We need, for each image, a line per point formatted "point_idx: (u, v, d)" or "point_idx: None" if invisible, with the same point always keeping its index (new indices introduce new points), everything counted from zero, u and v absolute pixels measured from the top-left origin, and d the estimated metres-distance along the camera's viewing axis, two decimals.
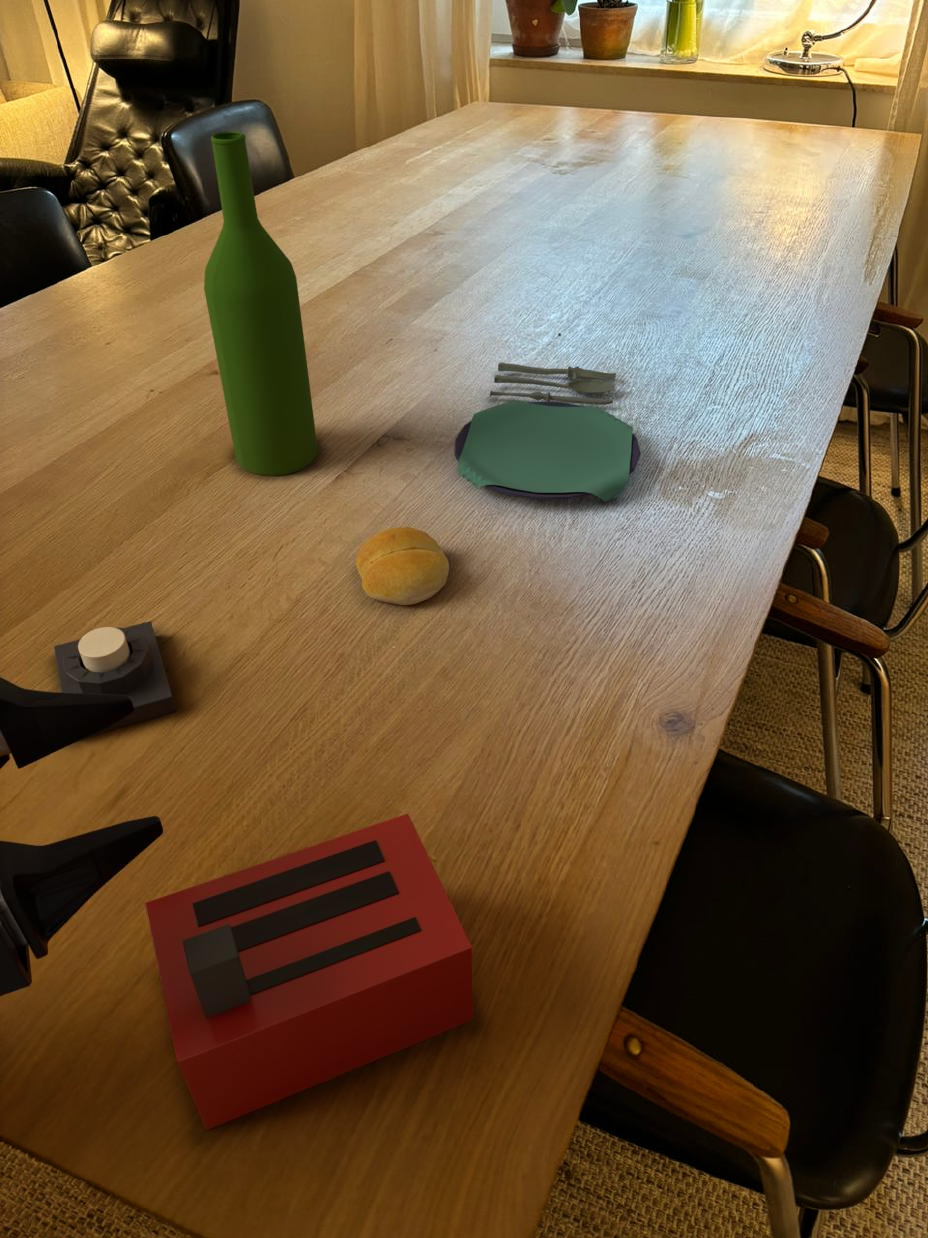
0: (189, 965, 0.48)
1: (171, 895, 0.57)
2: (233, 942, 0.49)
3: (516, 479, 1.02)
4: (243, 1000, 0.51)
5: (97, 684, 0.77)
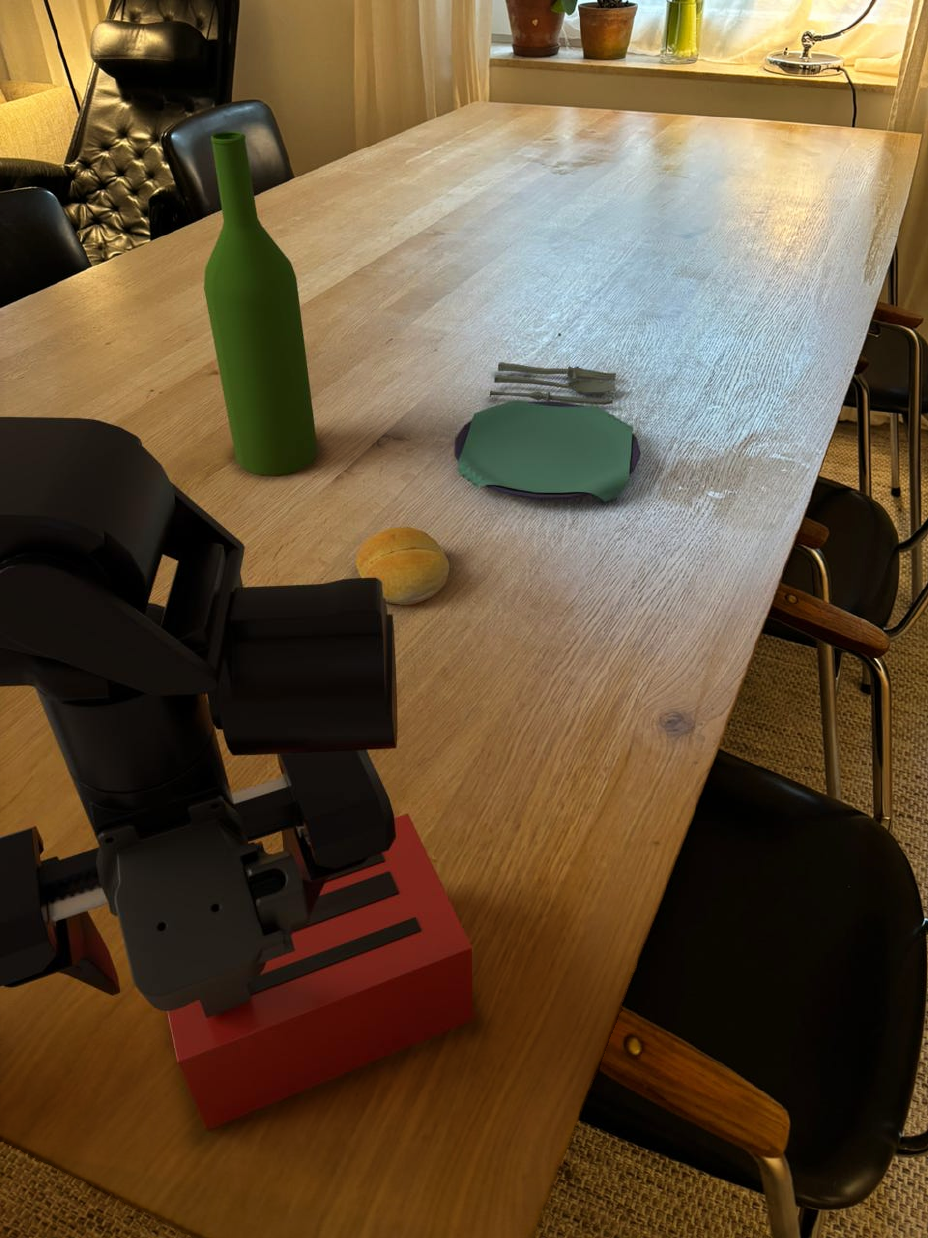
0: None
1: None
2: None
3: (516, 479, 1.02)
4: (243, 1000, 0.51)
5: None
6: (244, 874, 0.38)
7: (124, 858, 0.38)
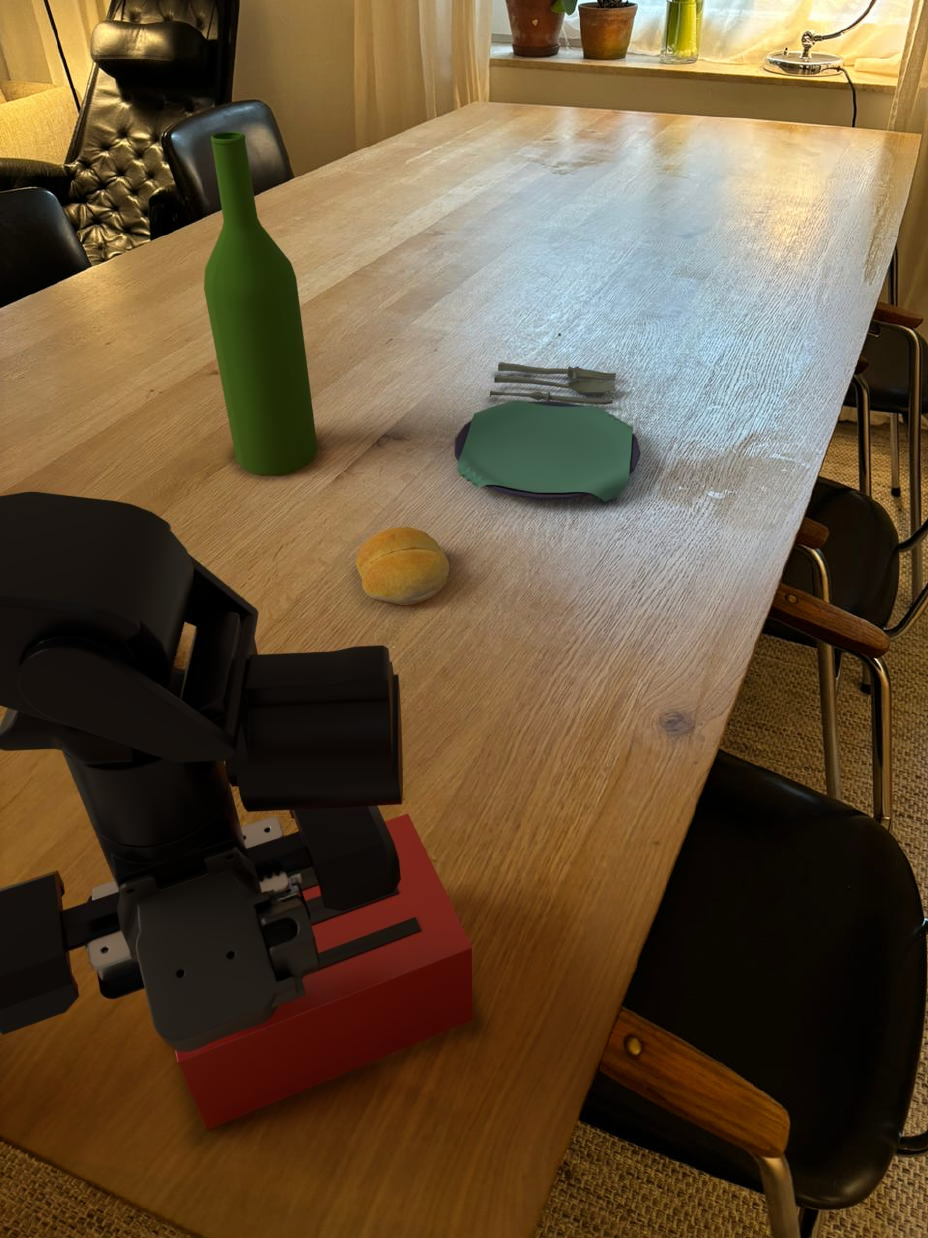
0: None
1: None
2: None
3: (516, 479, 1.02)
4: None
5: None
6: (258, 922, 0.40)
7: (144, 907, 0.40)
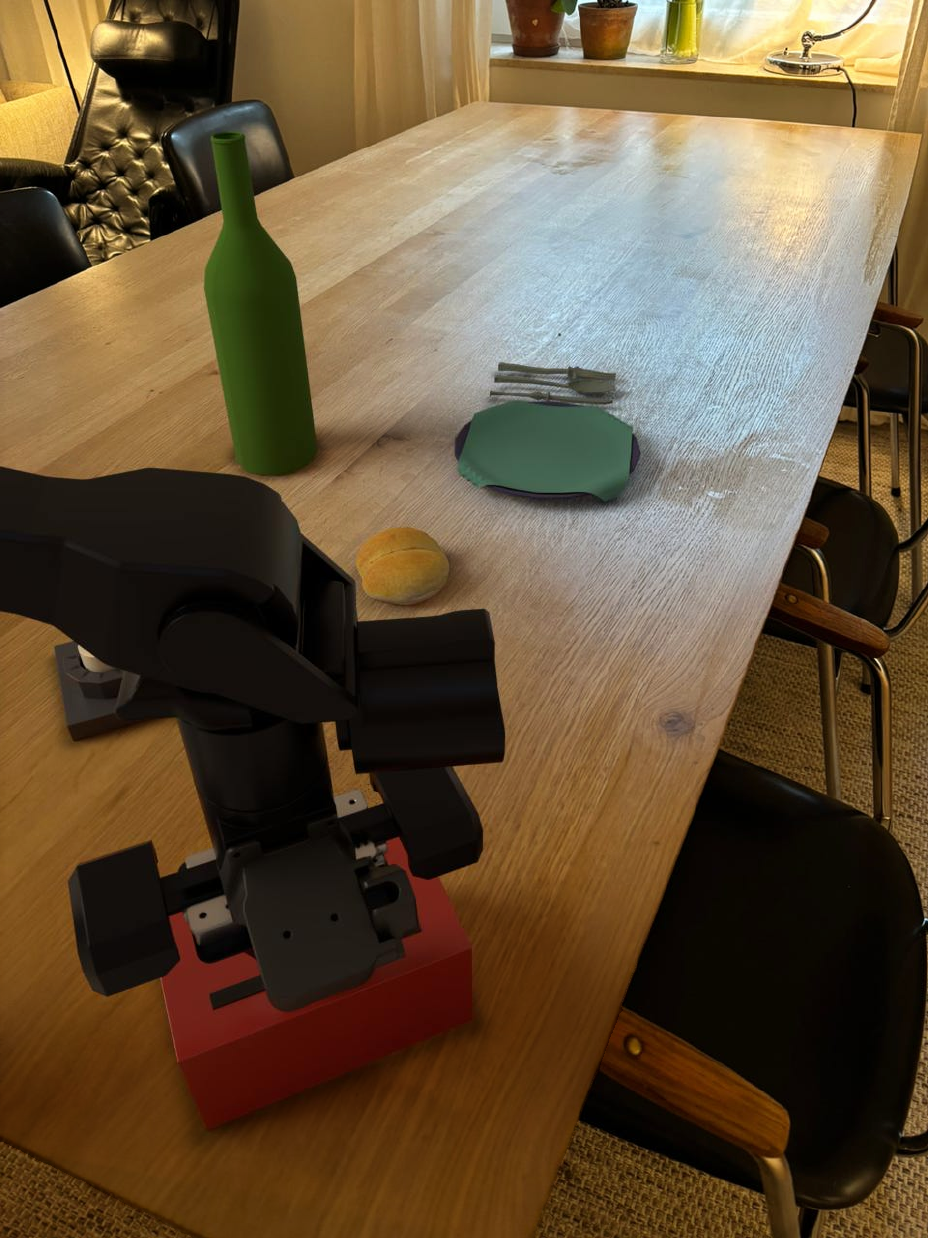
0: None
1: None
2: None
3: (516, 479, 1.02)
4: None
5: (97, 684, 0.77)
6: (359, 886, 0.41)
7: (249, 871, 0.41)
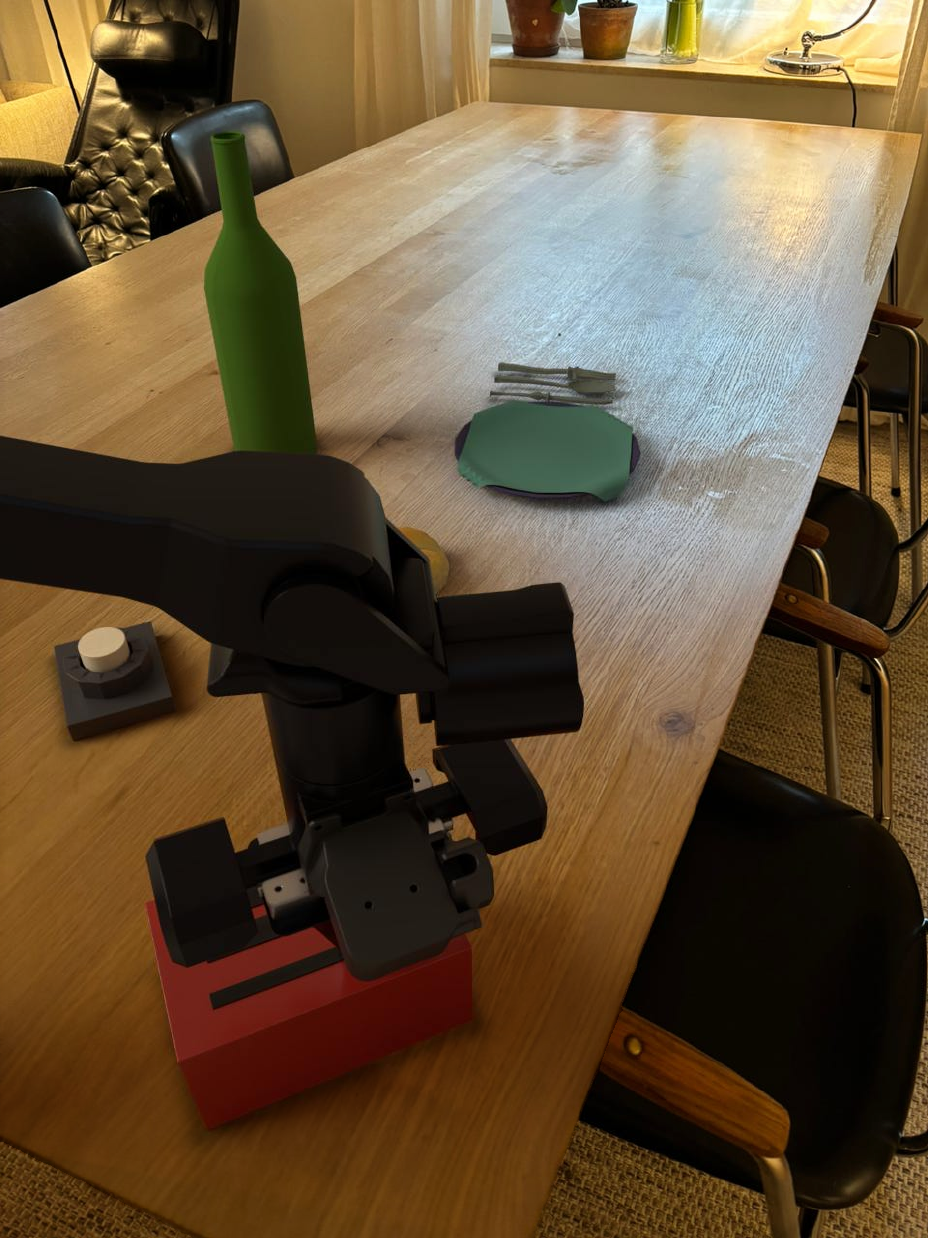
0: None
1: None
2: None
3: (516, 479, 1.02)
4: None
5: (97, 684, 0.77)
6: (436, 858, 0.42)
7: (329, 844, 0.42)
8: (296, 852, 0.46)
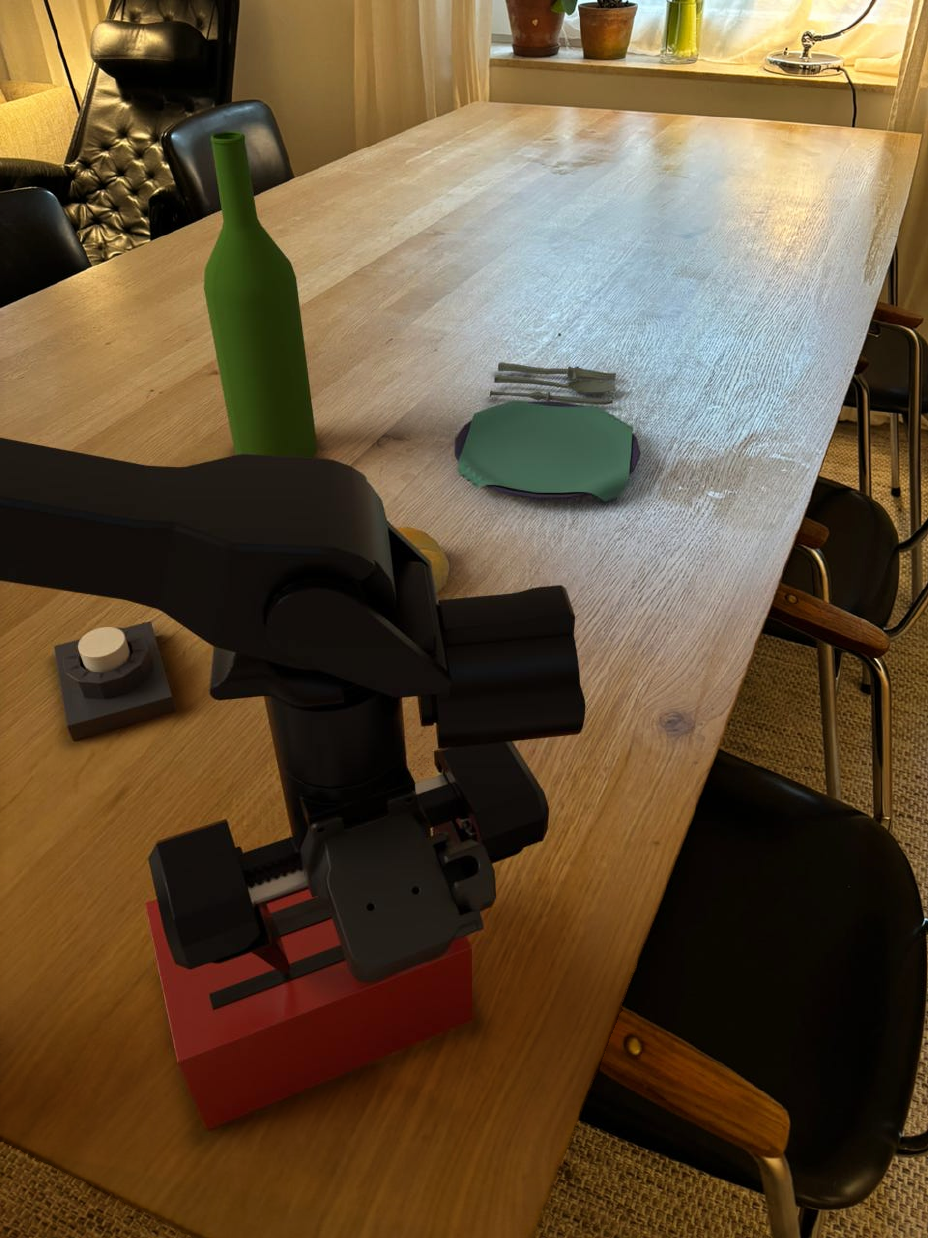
0: None
1: None
2: None
3: (516, 479, 1.02)
4: None
5: (97, 684, 0.77)
6: (438, 861, 0.43)
7: (332, 846, 0.42)
8: (298, 854, 0.46)
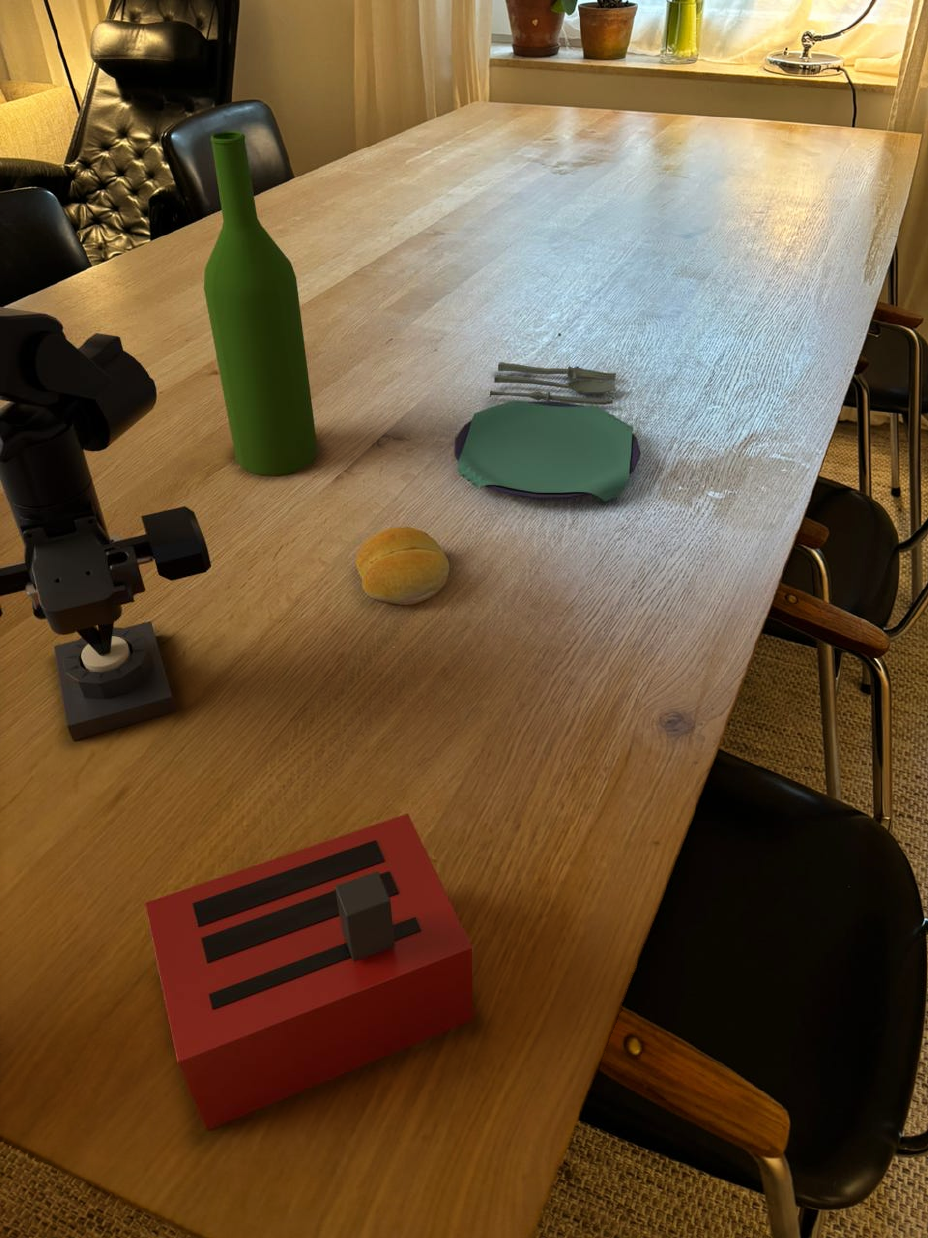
0: (344, 908, 0.51)
1: (171, 895, 0.57)
2: (384, 888, 0.51)
3: (516, 479, 1.02)
4: (388, 945, 0.53)
5: (97, 684, 0.77)
6: (106, 558, 0.68)
7: (38, 547, 0.67)
8: None
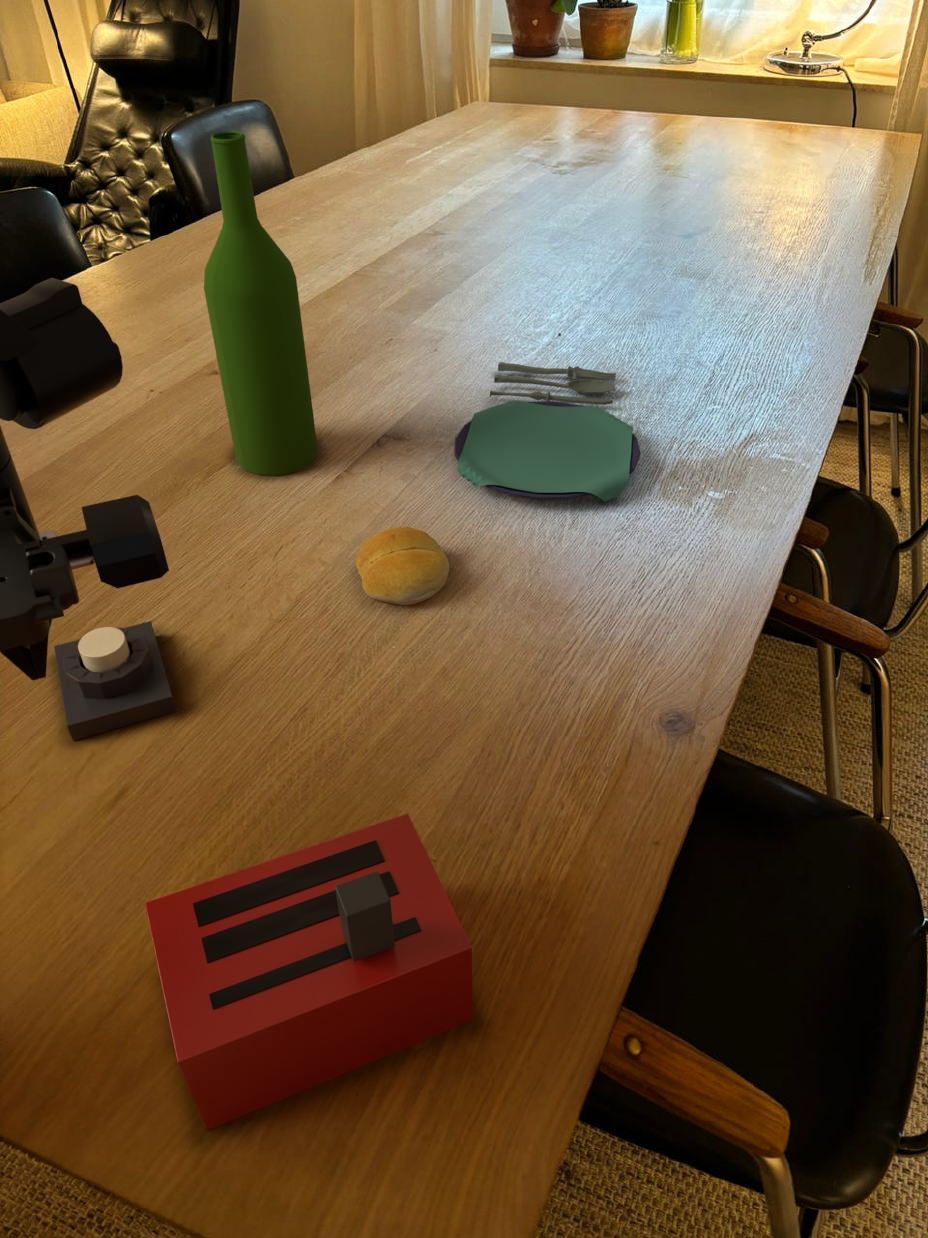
0: (344, 908, 0.51)
1: (171, 895, 0.57)
2: (384, 888, 0.51)
3: (516, 479, 1.02)
4: (388, 945, 0.53)
5: (97, 684, 0.77)
6: (27, 559, 0.52)
7: None
8: None
